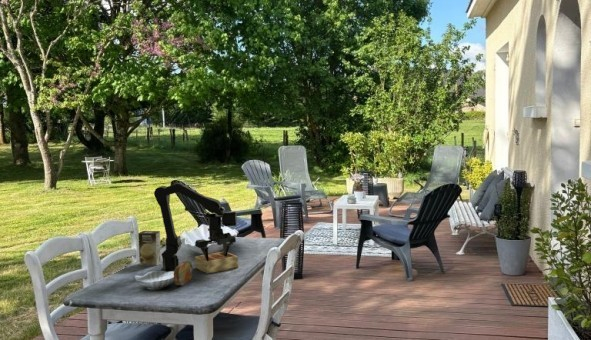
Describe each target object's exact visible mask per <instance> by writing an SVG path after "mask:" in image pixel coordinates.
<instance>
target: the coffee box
mask: <svg viewBox="0 0 591 340" xmlns="http://www.w3.org/2000/svg"><path fill="white" fill-rule="evenodd" d="M161 254H162V252H161V231H159V230H142V231H140V232H139V233H138V255H139V256H138V257H139V260H138V261H139V266H158V265H159V264H161V263H162V255H161Z"/></svg>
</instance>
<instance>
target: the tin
mask: <svg viewBox="0 0 591 340" xmlns="http://www.w3.org/2000/svg"><path fill="white" fill-rule="evenodd" d="M193 270H194V269H193V265H192V262H191V261H183V262H181V263H180V264H179V265H178V266H177V267H176V268H175V270H173V279H174V283H175V285H176V286H185V285H186V284H187V283H188V282H190V281H191V280H192V278H193V273H194V272H193Z"/></svg>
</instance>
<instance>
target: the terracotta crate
mask: <svg viewBox="0 0 591 340" xmlns="http://www.w3.org/2000/svg"><path fill="white" fill-rule="evenodd" d="M208 258H209V259H208V261H212V260H218V259H223V258H226V257H225V256H222V255H220V254H214V255H208Z"/></svg>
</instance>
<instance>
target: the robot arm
mask: <svg viewBox="0 0 591 340" xmlns="http://www.w3.org/2000/svg"><path fill="white" fill-rule="evenodd" d="M177 193H179V194H181V195H182V196H184V197H187V198H188V199H191V200H192V201H194V202H196V203H198V204H199V205H201V206H202V207H203V208H204V209H205V210H207V213H206V214H205V215H204V216H203V218H205V219H208V228H207V232H208V235H209V236H208V238H207V239H208V240H207V239H203V238H201V239H197V240H196V241H195V242H194V246H195V247H196V248H198V249H200V251H201V252H202V253H203V255H204V256H205V258H206V260H207V261H208V259H209V258H208V254H209V245H213V244H217V245H218V246H222V247H223V249H222V252H224V256H225V257H226V256H227V253H229V250H230V248H231V246H232V245H234V243H236V241H237V239H236V238H237V237H235V236H234V235H232V234H231V233H230V232H225V233H224V230H223V228H222V226H224V227H237V226H238V216H237V212H236V211H226V210H225V209H224V208H223V207H222V203H221V201H220V200H219V199H216V198H214V197H213V198H212V197H210V196H205V195H203V194H201V193H200V192H198V191H196V190H194V189H192V188H190V187H189V186H187V185H185V184H184V183H182V182H178V183H175V184H172V185H169V186H166V185H161V186H159V187H157V188H155V189H154V192H153V195H154V197H155V200H156V202H157V204H158V206H159V208H160V213H161V216H162V221H163V227H164V232H165V236H166V237H165V250H164V251H163V252H161V260H162V267H161V269H162V270H163V271H165V272H170V271H174V270H175V268H176V267H177V266H178V265H180V264H179V263H180V262H179V258H178V255H177V254H178V252H179V251H180V250H181V248H182V245H183V242H182V239H181V238H182V237H181V235H177V233H176V230H175V229H176V228H175V225H174V220H173V216H172V215H173V214H172V211H171V207H170V201H171V195H173V194H177Z"/></svg>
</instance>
